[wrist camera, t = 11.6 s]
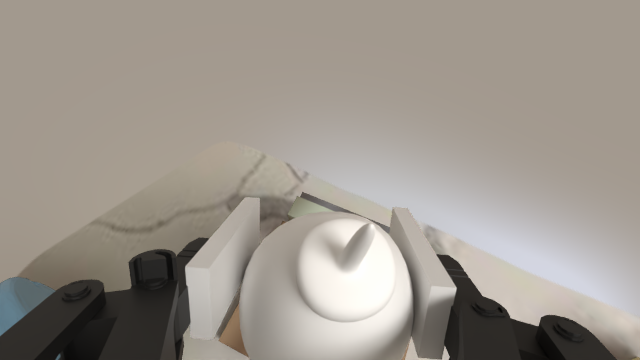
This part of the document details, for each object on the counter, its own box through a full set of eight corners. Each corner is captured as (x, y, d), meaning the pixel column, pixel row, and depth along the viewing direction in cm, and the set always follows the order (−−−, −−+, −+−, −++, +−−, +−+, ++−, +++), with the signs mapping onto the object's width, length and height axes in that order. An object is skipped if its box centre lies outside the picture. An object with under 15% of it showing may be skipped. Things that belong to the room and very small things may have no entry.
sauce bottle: (257, 391, 19) (45, 644, 3) (257, 263, 22) (161, 66, 7) (381, 375, 20) (739, 503, 4) (361, 254, 23) (499, 60, 7)
